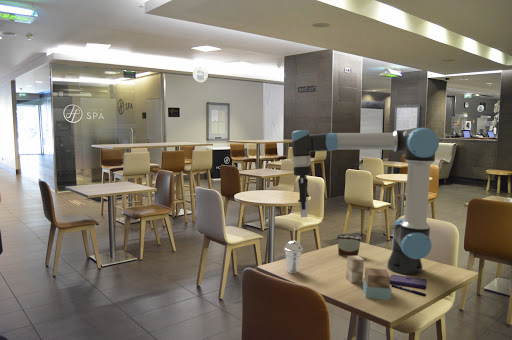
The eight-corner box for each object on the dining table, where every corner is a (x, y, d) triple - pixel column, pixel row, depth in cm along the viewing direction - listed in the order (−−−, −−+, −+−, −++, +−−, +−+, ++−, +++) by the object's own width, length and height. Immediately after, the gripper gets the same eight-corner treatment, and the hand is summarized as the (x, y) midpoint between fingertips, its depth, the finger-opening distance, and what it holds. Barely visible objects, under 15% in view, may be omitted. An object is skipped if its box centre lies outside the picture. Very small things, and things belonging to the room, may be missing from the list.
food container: (360, 253, 205) (361, 234, 204) (360, 257, 199) (362, 237, 198) (335, 251, 208) (337, 232, 207) (335, 254, 202) (336, 235, 201)
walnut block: (385, 280, 158) (386, 269, 158) (389, 288, 150) (390, 276, 150) (364, 278, 159) (365, 267, 159) (367, 286, 151) (368, 274, 151)
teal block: (385, 291, 159) (386, 280, 159) (390, 300, 150) (391, 289, 150) (362, 289, 160) (363, 278, 160) (365, 298, 151) (366, 287, 151)
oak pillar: (356, 278, 171) (358, 255, 170) (362, 282, 166) (364, 259, 165) (345, 278, 170) (347, 255, 169) (351, 283, 165) (352, 259, 164)
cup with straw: (278, 271, 175) (280, 226, 173) (289, 266, 182) (291, 223, 180) (295, 276, 170) (297, 230, 168) (306, 270, 177) (308, 226, 175)
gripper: (295, 165, 187) (298, 210, 188) (291, 168, 163) (294, 219, 164) (311, 164, 186) (314, 209, 187) (309, 167, 161) (312, 219, 162)
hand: (305, 214), depth 175 cm, fingers open, 13 cm apart
